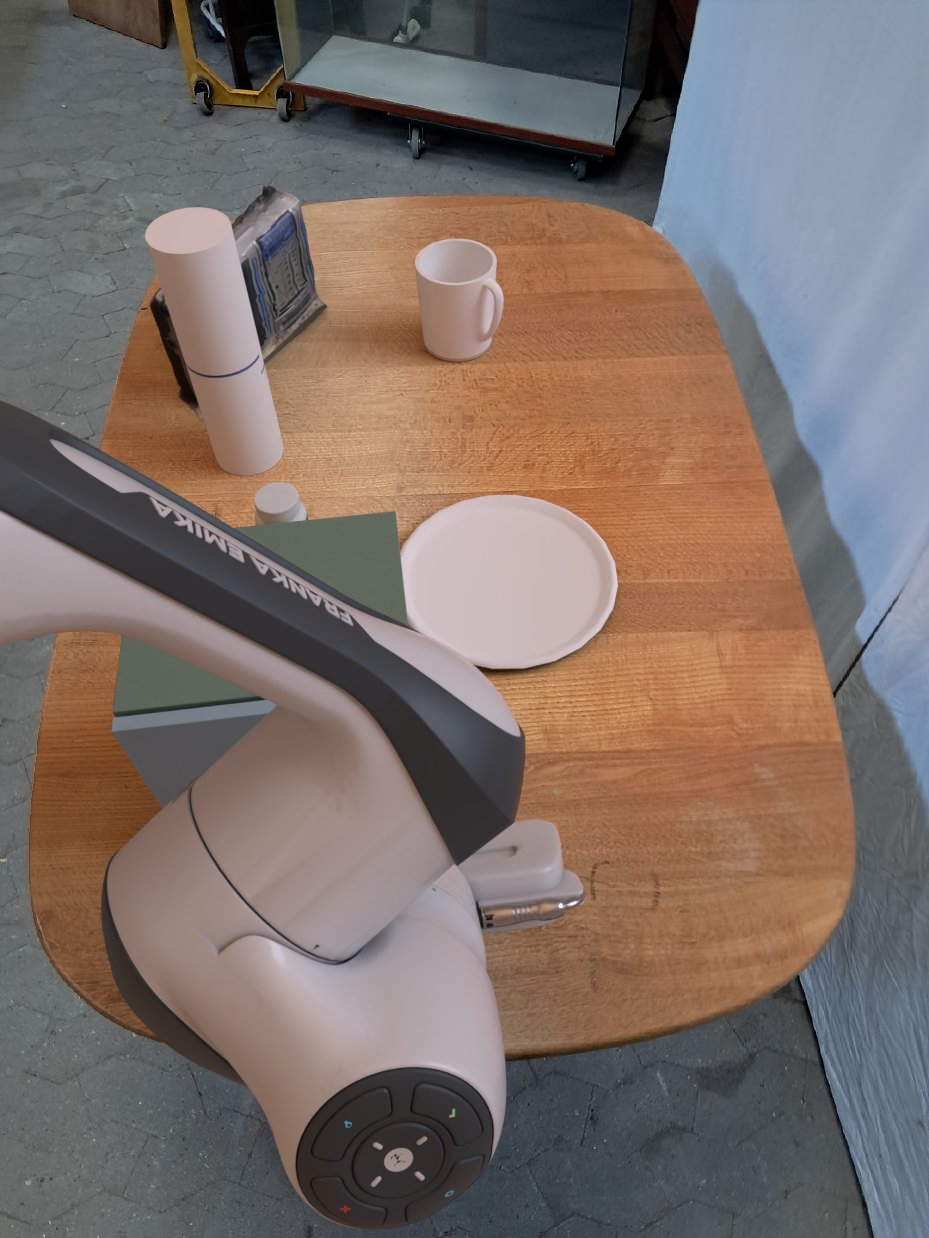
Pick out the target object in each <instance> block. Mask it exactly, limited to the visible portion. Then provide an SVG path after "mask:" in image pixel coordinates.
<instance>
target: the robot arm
mask: <svg viewBox="0 0 929 1238" xmlns="http://www.w3.org/2000/svg"><path fill="white" fill-rule="evenodd" d="M234 528H235V527H233V526H231V525H229V524H228V523H226V522H224V521H222V520H221V519H219V518H218V517H216V516H215V515H214V514H211V513H210V512H208V511H206V510H205V509H204V508H201V507H200V506H198V505H197V504H195V503H193V502H192V501H189V500H188V499H186V498H185V497H183V496H181V495H179V494H178V493H176V492H174V491H173V490H171V489H169V488H168V487H166V486H164V485H163V484H161V483H159V482H157V481H156V480H153V479H152V478H150V477H148V476H147V475H145V474H143V473H141V472H140V471H138V470H136V469H135V468H133V467H131V466H130V465H127V464H125V463H124V462H123V461H120V460H119V459H117V458H115V457H114V456H112V455H110V454H108V453H107V452H105V451H103V450H101V449H100V448H98V447H96V446H95V445H92V444H91V443H89V442H88V441H85V440H83V439H81V438H80V437H78V436H76V435H74V434H72V433H70V432H69V431H67V430H66V429H65V430H64V429H63V428H61V427H59V426H57V425H55V424H53V423H51V422H49V421H47V420H46V419H43V418H41V417H39V416H37V415H35V414H33V413H31V412H29V411H27V410H24V409H23V408H20V407H18V406H15V405H13V404H11V403H8V402H6V401H3V400H0V646H3V645H7V644H10V643H14V642H18V641H22V640H27V639H32V638H36V637H40V636H47V635H55V634H63V633H84V632H90V633H91V632H92V633H102V634H103V633H104V634H113V635H118V636H121V637H122V636H126V637H130V638H134V639H137V640H140V641H142V642H145V643H147V644H150V645H152V646H154V647H157V648H159V649H161V650H163V651H165V652H167V653H169V654H171V655H173V656H175V657H178V658H180V659H182V660H184V661H186V662H188V663H190V664H192V665H194V666H197V667H199V668H201V669H203V670H205V671H207V672H209V673H211V674H213V675H215V676H218V677H220V678H222V679H224V680H226V681H228V682H230V683H232V684H234V685H236V686H239V687H241V688H243V689H245V690H247V691H249V692H251V693H253V694H255V695H258V696H260V697H262V698H264V699H266V700H268V701H270V702H272V703H274V704H276V705H277V706H276V707H275V708H274V709H273V710H271V711H270V712H269V713H268V714H267V715H266V716H265V717H264V718H263V719H262V720H261V721H260V722H259V723H257V724H256V725H255V726H254V727H253V728H252V729H251V730H250V731H249V732H248V733H247V734H246V735H244V736H243V737H242V738H241V739H240V740H239V741H238V742H237V743H236V744H235V745H234V746H233V747H232V748H230V749H229V750H228V751H227V752H226V753H225V754H224V755H223V756H222V757H221V758H220V759H219V760H218V761H216V762H215V763H214V764H213V765H212V766H211V767H210V768H209V769H208V770H207V771H206V772H205V773H203V774H202V775H201V776H200V777H197V778H195V779H194V780H193V781H192V782H191V783H190V784H189V785H188V786H187V787H186V788H185V789H183V790H182V791H181V792H180V793H179V794H178V795H177V796H176V797H175V798H174V799H173V800H171V801H170V802H169V803H168V804H167V805H166V806H165V807H164V808H163V809H162V808H161V809H160V810H159V811H158V812H157V813H156V814H155V815H154V816H153V817H152V818H151V819H150V820H149V821H148V822H147V823H146V824H145V825H144V826H143V827H142V828H140V830H139V831H138V832H137V833H135V835H133V836H132V837H131V838H130V839H129V840H128V841H127V842H126V843H125V844H124V845H123V846H122V847H121V848H120V849H119V850H117V851H115V852H114V853H113V855H112V856H111V857H110V859H109V860H108V863H107V865H106V867H105V872H104V876H103V881H102V888H101V897H100V898H101V899H100V917H101V927H102V929H101V930H102V934H103V939H104V940H103V941H104V945H105V951H106V956H107V960H108V963H109V967H110V970H111V974H112V978H113V981H114V983H115V985H116V987H117V990H118V992H119V994H120V996H121V997H122V999H123V1001H124V1002H125V1004H126V1005H127V1006H128V1008H129V1009H130V1011H132V1012H133V1014H134V1015H135V1016H136V1017H137V1018H138V1019H139V1020H140V1021H141V1022H142V1024H144V1025H145V1027H146V1028H147V1029H149V1030H150V1031H151V1032H152V1033H153V1035H154V1036H156V1037H157V1038H158V1039H159V1040H160V1041H162V1042H163V1043H164V1044H165V1045H167V1046H168V1047H169V1048H170V1049H172V1050H173V1051H174V1052H176V1053H177V1054H179V1055H181V1056H182V1057H184V1058H185V1059H187V1060H189V1061H190V1062H192V1063H194V1064H196V1065H197V1066H199V1067H201V1068H203V1069H205V1070H206V1071H207V1070H208V1071H210V1072H212V1073H214V1074H217V1075H219V1076H221V1077H223V1078H225V1079H228V1080H230V1081H232V1082H235V1083H237V1084H240V1085H242V1086H245V1087H247V1088H248V1089H249V1090H250V1092H251V1093H252V1095H253V1096H254V1098H255V1100H256V1101H257V1103H258V1104H259V1105H260V1107H261V1109H262V1111H263V1113H264V1115H265V1118H266V1119H267V1122H268V1125H269V1127H270V1130H271V1132H272V1135H273V1139H274V1142H275V1145H276V1148H277V1152H278V1154H279V1157H280V1161H281V1164H282V1166H283V1169H284V1172H285V1173H286V1176H287V1177H288V1180H289V1182H290V1184H291V1185H292V1187H293V1188H294V1190H295V1192H296V1193H297V1194H298V1196H299V1197H300V1198H301V1199H302V1200H303V1201H304V1202H305V1203H306V1205H308V1206H309V1207H310V1208H311V1209H312V1210H314V1211H315V1212H316V1213H318V1214H319V1215H320V1216H321V1217H323V1218H325V1219H327V1220H328V1221H330V1222H332V1223H335V1224H337V1225H341V1226H343V1227H348V1228H351V1229H358V1230H367V1231H368V1230H369V1231H371V1230H372V1231H373V1230H376V1231H378V1230H379V1231H380V1230H391V1229H396V1228H401V1227H404V1226H409V1225H412V1224H415V1223H417V1222H420V1221H422V1220H424V1219H426V1218H429V1217H430V1216H432V1215H435V1214H437V1213H438V1212H439V1211H442V1209H444V1208H446V1206H448V1205H449V1204H451V1203H452V1202H454V1201H455V1200H456V1199H457V1198H458V1197H460V1196H461V1195H462V1194H463V1193H464V1192H465V1191H467V1190H468V1189H469V1188H470V1187H471V1186H472V1185H473V1184H475V1182H476V1181H477V1180H478V1179H479V1178H480V1177H481V1175H483V1174H484V1172H485V1171H486V1170H487V1168H488V1166H489V1165H490V1163H491V1161H492V1159H493V1157H494V1155H495V1152H496V1150H497V1147H498V1145H499V1144H498V1143H499V1141H500V1138H501V1136H502V1130H503V1126H504V1121H505V1115H506V1106H507V1068H506V1055H505V1045H504V1044H505V1043H504V1037H503V1030H502V1024H501V1019H500V1018H501V1017H500V1012H499V1008H498V1002H497V997H496V993H495V990H494V987H493V983H492V980H491V977H490V976H489V974H488V971H487V953H486V946H485V941H484V937H483V936H484V935H491V934H498V933H505V932H513V931H519V930H527V929H534V928H539V927H543V926H546V925H547V926H548V925H550V924H553V923H554V922H556V921H557V920H559V919H561V918H562V917H564V916H565V911H568V910H571V909H573V908H577V907H580V906H582V905H584V903H585V898H586V896H587V895H586V894H587V893H586V890H585V887H584V885H583V883H582V881H581V879H580V877H579V875H577V874H576V873H575V872H574V871H571V870H569V869H566V868H564V860H563V850H562V842H561V836H560V833H559V831H558V827H557V826H556V824H555V823H553V822H552V821H548V820H545V819H542V818H541V819H540V818H530V819H529V818H528V819H524V820H523V819H522V820H516V818H517V815H518V809H519V805H520V801H521V796H522V791H523V784H524V777H525V776H524V775H525V768H526V767H525V765H526V749H527V748H526V734H525V732H524V730H523V728H522V727H521V726H520V724H519V722H518V721H517V719H516V717H515V715H514V713H513V711H512V710H511V707H510V706H509V703H507V701H506V699H505V698H504V696H503V695H502V694H501V693H500V691H499V690H498V688H496V687H495V685H494V684H493V683H492V682H491V680H490V679H489V678H487V676H486V675H485V674H484V673H483V671H481V670H480V669H479V668H478V667H477V666H474V665H473V664H472V663H471V662H469V661H468V660H467V659H466V658H464V657H463V656H462V655H460V654H459V653H457V652H456V651H454V650H453V649H451V648H450V647H448V646H446V645H444V644H442V643H440V642H439V641H437V640H435V639H432V638H430V637H428V636H425V635H423V634H421V633H420V632H418V631H416V630H415V629H413V628H411V627H410V626H409V625H408V626H407V625H405V624H403V623H401V622H399V621H397V620H395V619H393V618H391V617H388V616H386V615H384V614H382V613H380V612H377V611H375V610H373V609H371V608H369V607H367V606H365V605H363V604H361V603H359V602H357V601H355V600H353V599H351V598H350V597H348V596H346V595H344V594H342V593H341V592H339V591H337V590H336V589H334V588H332V587H331V586H329V585H327V584H326V583H324V582H322V581H321V580H319V579H317V578H316V577H314V576H312V575H311V574H309V573H307V572H306V571H304V570H302V569H301V568H299V567H297V566H296V565H294V564H292V563H291V562H289V561H287V560H286V559H284V558H282V557H281V556H279V555H278V554H276V553H274V552H273V551H271V550H269V549H268V548H266V547H264V546H263V545H261V544H259V543H258V542H256V541H254V540H253V539H251V538H249V537H248V536H246V535H244V534H243V533H241V532H239V531H238V530H236V529H234Z"/></svg>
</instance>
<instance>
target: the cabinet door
mask: <svg viewBox="0 0 929 1238" xmlns="http://www.w3.org/2000/svg"><path fill="white" fill-rule="evenodd" d="M276 706H277V705H276V704H274V703H272V702H270V701H268V700H261V701H253V702H244V703H235V704H227V705H218V706H210V707H201V708H192V709H184V710H175V711H166V712H158V713H149V714H141V715H132V716H123V717H115V716H114V717H112V720H111V726H110V733H111V734H112V736H113V737H114V739H115V740H116V742H117V743H118V745H119V746H120V748H121V750H122V751H123V752H124V755H126V757H127V758H128V760H129V761H130V763H131V764H132V766H133V768H134V769H135V770H136V772H137V773H138V775H139V776H140V778H141V780H142V782H144V784H145V785H146V787H147V789H148V790H149V792H150V793H151V795H152V796H153V798H154V799H155V801H156V802H157V804H158V805H159V807H160V808H161V810H162V809H163V808H164V807H165V806H166V805H167V804H168V803H169V802H170V801H171V800H173V799H174V798H175V797H176V796H177V795H178V794H179V793H180V792H181V791H182V790H183V789H185V788H186V787H187V786H188V785H189V784H190V783H191V782H192V781H193V780H194V779H195V778H197V777H200V776H201V775H202V774H203V773H205V772H206V771H207V770H208V769H209V768H210V767H211V766H212V765H213V764H214V763H215V762H216V761H218V760H219V759H220V758H221V757H222V756H223V755H224V754H225V753H226V752H227V751H228V750H229V749H230V748H232V747H233V746H234V745H235V744H236V743H237V742H238V741H239V740H240V739H241V738H242V737H243V736H244V735H246V734H247V733H248V732H249V731H250V730H251V729H252V728H253V727H254V726H255V725H256V724H257V723H259V722H260V721H261V720H262V719H263V718H264V717H265V716H266V715H267V714H268V713H269V712H270V711H271V710H273V709H274V708H275V707H276Z"/></svg>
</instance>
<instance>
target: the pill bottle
mask: <svg viewBox="0 0 929 1238" xmlns="http://www.w3.org/2000/svg"><path fill="white" fill-rule="evenodd" d="M253 504H254V505H253V506H254V509H255V513H254V524H255V525H264V524H274V523H284V522H294V521H304V520H309V517H308V516H309V515H308V512H307V511H308V510H307V509H306V507H305V504H304V503H303V502H302V501H301V498H300V494H299V492H298V490H297V488H296V487H295V486H294V485H293V484H291V483H288V482H285V481H274V482H270V483H267V484H265V485H263V486H261V487H260V488H259V489H258V490H257V491H256V492H255V494H254V496H253Z"/></svg>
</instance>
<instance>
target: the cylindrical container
mask: <svg viewBox="0 0 929 1238" xmlns="http://www.w3.org/2000/svg"><path fill="white" fill-rule="evenodd" d="M231 225H232V223H231V219H230V218H229V217H228V216H227V215H226V214H225V213H223V212H222V211H219V210H217V209H214V208H209V207H202V206H201V207H199V206H194V207H193V206H192V207H184V208H179V209H175V210H171V211H169V212H167V213H164V214H162V215H160V216H158V217H156V218H155V219H154V220H152V222H151V223H150V224H149V225H148V226H147V227H146V230H145V233H144V238H145V243H146V245H147V248H148V251H149V254H150V257H151V260H152V263H153V267H154V269H155V273H156V276H157V279H158V282H159V286H160V288H162V292H163V295H164V298H165V301H166V304H167V307H168V310H169V313H170V316H171V320H172V323H173V326H174V329H175V332H176V335H177V338H178V342H179V345H180V348H181V351H182V354H183V357H184V360H185V364H186V367H187V370H188V373H189V376H190V379H191V382H192V385H193V388H194V391H195V394H196V398H197V401H198V404H199V407H200V410H201V413H202V416H203V419H202V420H203V422H204V425H205V428H206V432H207V435H208V438H209V441H210V444H211V447H212V451H213V454H214V457H215V460H216V462H217V464H218V466H219V468H221V469H222V470H223V471H224V472H226V473H228V474H230V475H235V476H240V477H241V476H242V477H248V476H249V477H250V476H255V475H260V474H262V473H265V472H267V471H269V470H270V469H272V468H274V467H275V466H276V465H278V463H279V462H280V461H281V459H282V458H283V455H284V451H285V446H284V442H283V438H282V433H281V429H280V424H279V421H278V416H277V412H276V409H275V403H274V399H273V396H272V392H271V387H270V386H271V385H270V382H269V378H268V374H267V369H266V365H265V364H264V361H263V356H262V352H261V348H260V344H259V339H258V335H257V331H256V327H255V323H254V318H253V314H252V310H251V306H250V302H249V297H248V293H247V289H246V285H245V281H244V276H243V272H242V268H241V264H240V260H239V255H238V251H237V247H236V243H235V239H234V234H233V230H232V226H231Z"/></svg>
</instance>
